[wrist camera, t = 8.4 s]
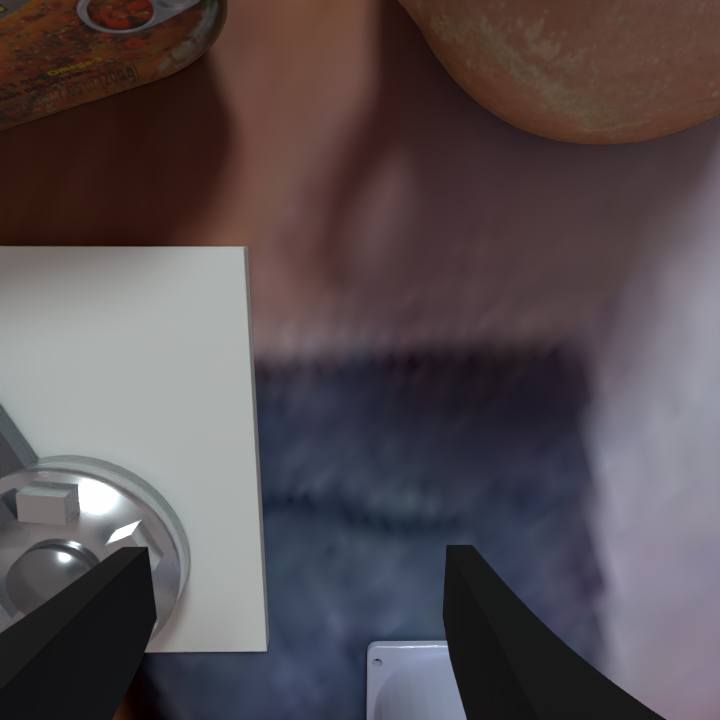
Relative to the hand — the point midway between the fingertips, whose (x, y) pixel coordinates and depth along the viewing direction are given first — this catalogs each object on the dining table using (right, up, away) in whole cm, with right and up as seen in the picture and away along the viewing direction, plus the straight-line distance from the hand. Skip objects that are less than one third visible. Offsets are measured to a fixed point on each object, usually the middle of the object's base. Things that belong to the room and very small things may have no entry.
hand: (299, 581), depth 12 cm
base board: (-12, 0, +10) cm, 16 cm away
